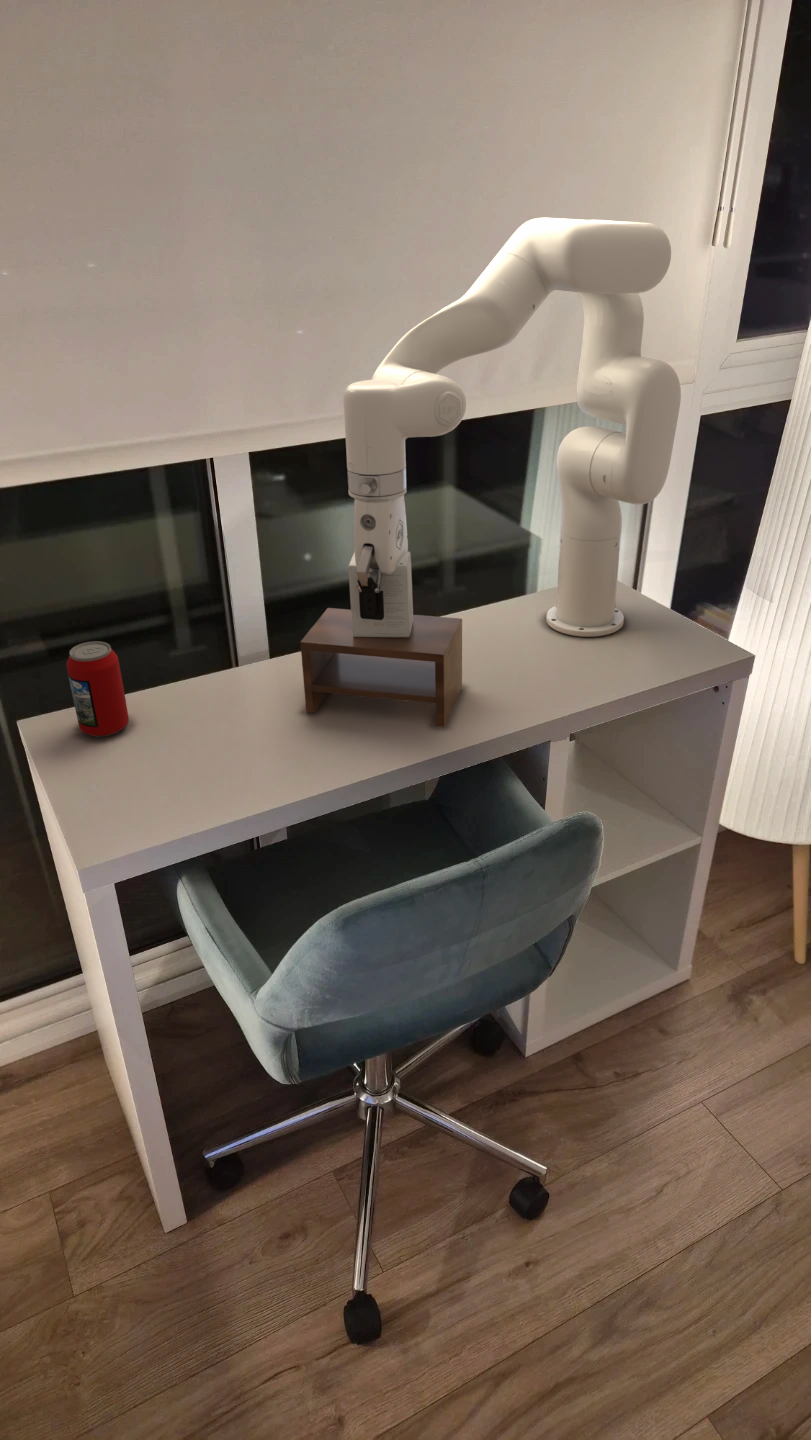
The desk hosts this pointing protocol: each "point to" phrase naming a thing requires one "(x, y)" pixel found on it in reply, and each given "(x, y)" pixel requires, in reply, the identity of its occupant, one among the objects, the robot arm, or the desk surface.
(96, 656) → the beverage can
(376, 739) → the desk surface
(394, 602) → the small box
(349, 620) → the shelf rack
